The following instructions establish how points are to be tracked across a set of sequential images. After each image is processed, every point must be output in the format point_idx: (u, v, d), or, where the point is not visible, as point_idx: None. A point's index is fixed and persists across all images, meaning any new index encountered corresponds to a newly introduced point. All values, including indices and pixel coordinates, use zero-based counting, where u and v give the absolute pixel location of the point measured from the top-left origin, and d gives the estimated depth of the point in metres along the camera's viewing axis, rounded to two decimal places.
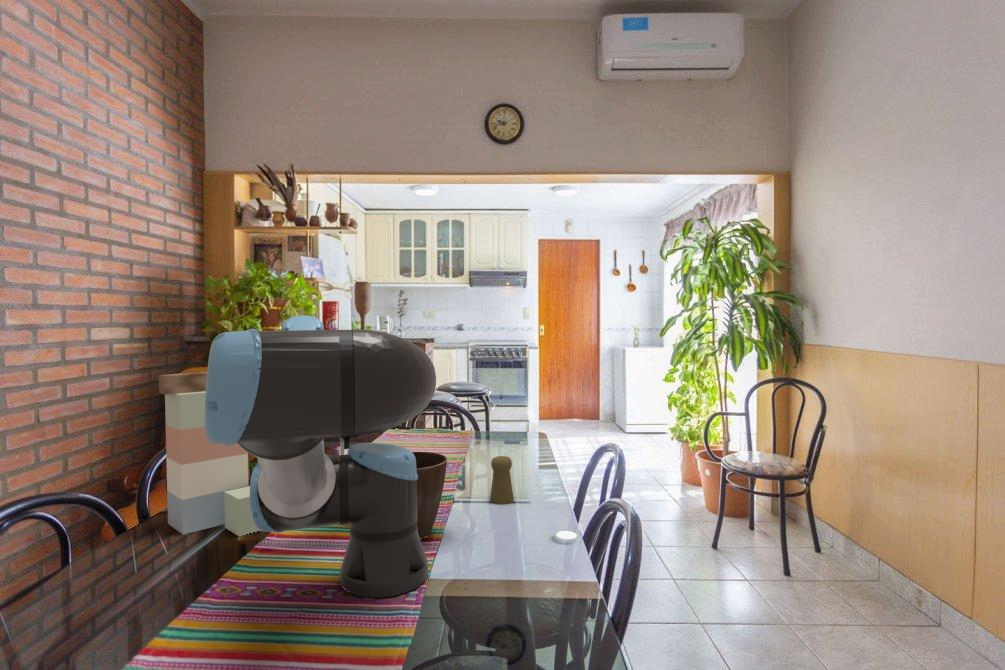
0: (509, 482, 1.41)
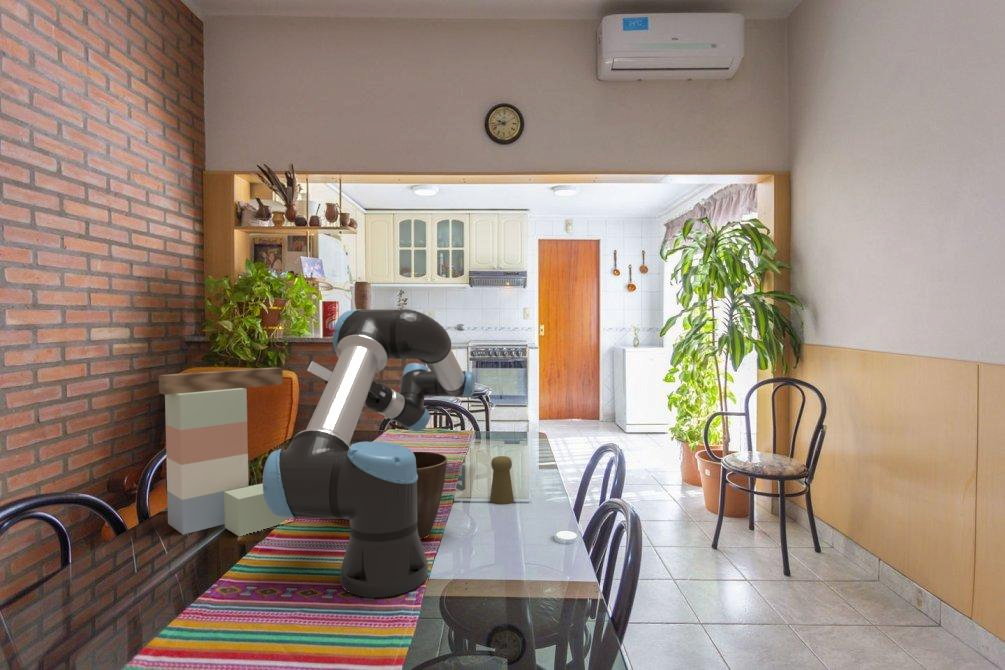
0: (509, 482, 1.41)
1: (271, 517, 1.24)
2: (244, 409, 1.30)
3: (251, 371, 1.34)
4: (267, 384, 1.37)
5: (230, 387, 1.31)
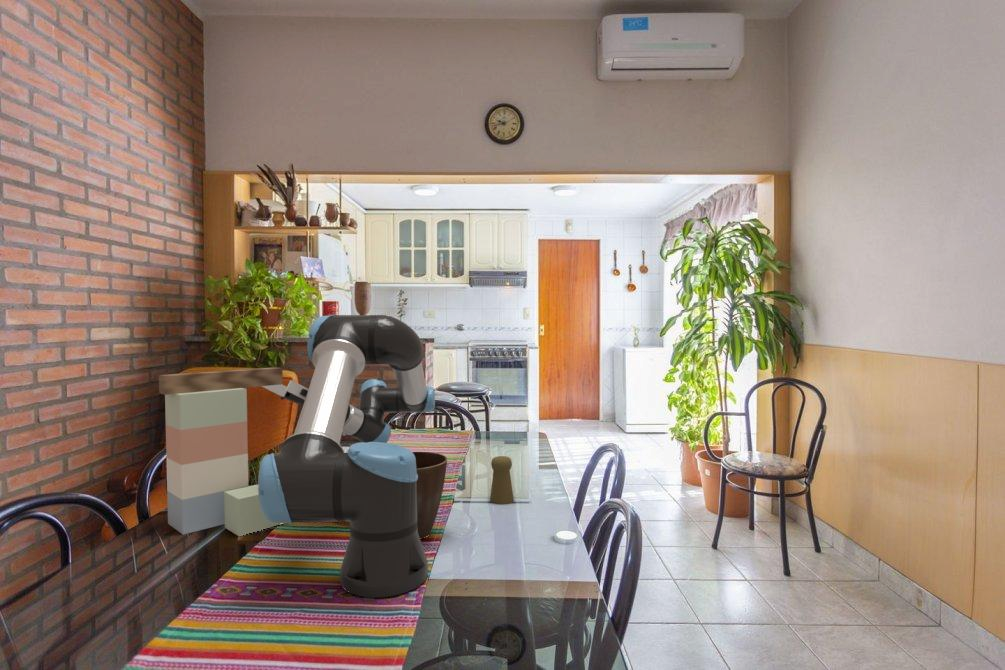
0: (509, 482, 1.41)
1: None
2: (244, 409, 1.30)
3: (251, 371, 1.34)
4: (267, 384, 1.37)
5: (230, 387, 1.31)
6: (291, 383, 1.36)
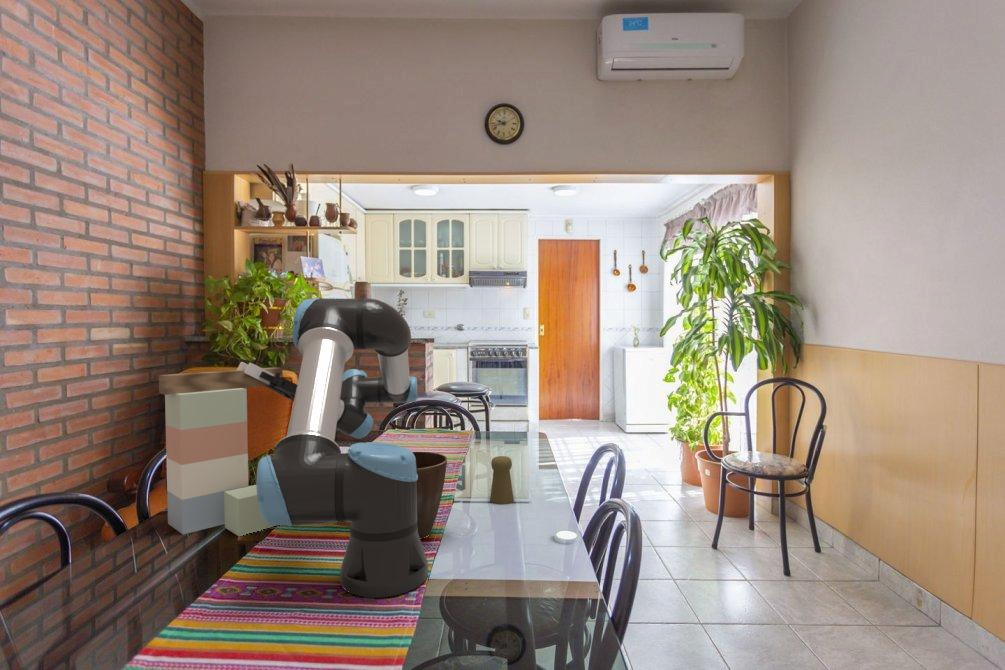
0: (509, 482, 1.41)
1: None
2: (244, 409, 1.30)
3: None
4: (267, 384, 1.37)
5: (230, 387, 1.31)
6: (250, 365, 1.33)
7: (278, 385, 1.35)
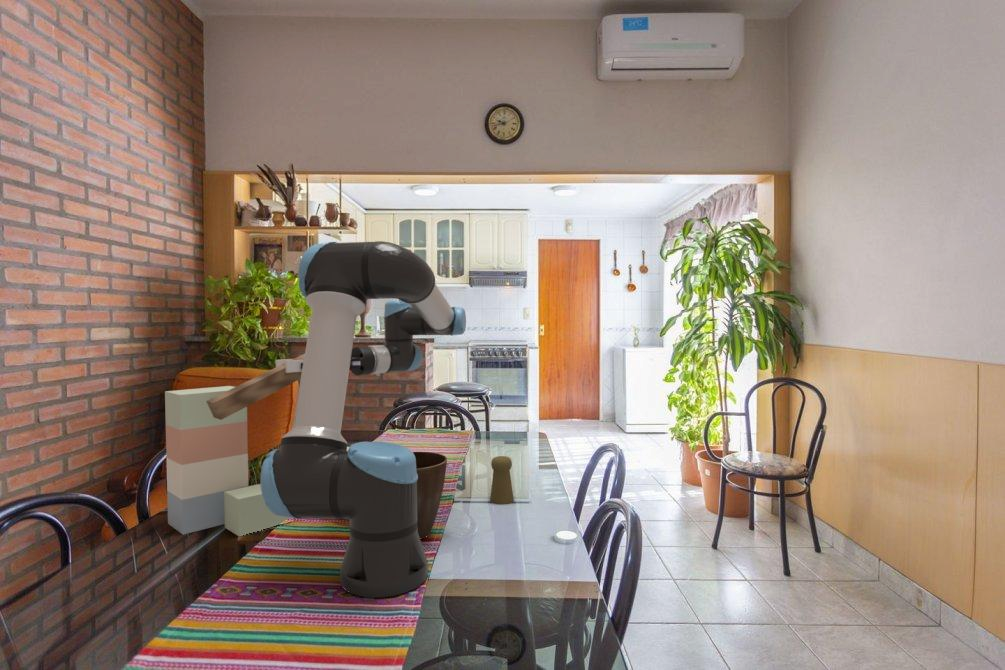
0: (509, 482, 1.41)
1: (271, 517, 1.24)
2: (244, 409, 1.30)
3: None
4: None
5: (278, 388, 1.27)
6: (287, 364, 1.28)
7: None
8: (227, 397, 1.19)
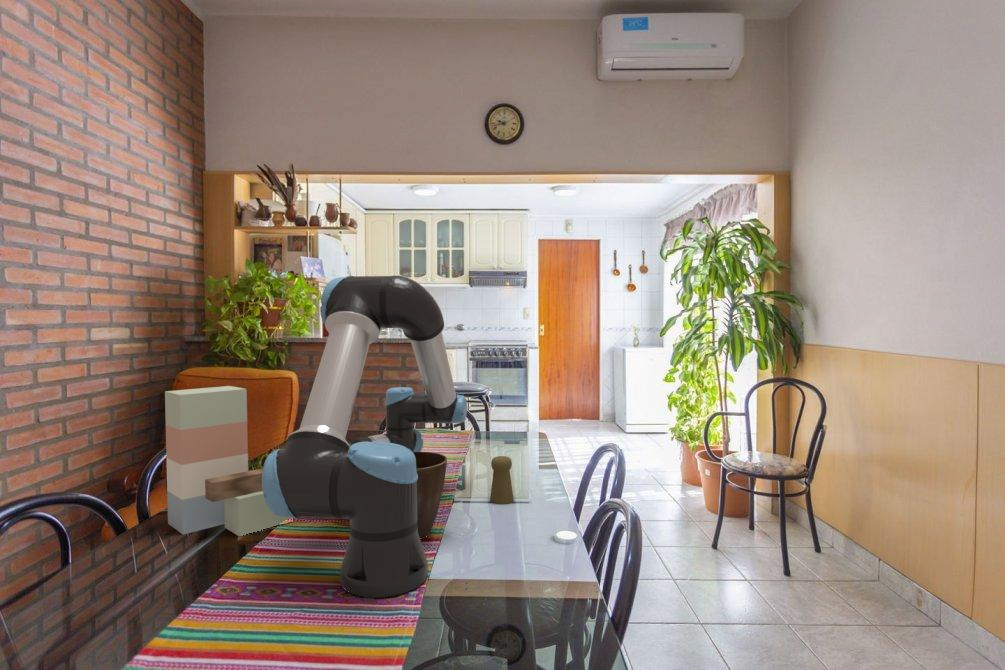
0: (509, 482, 1.41)
1: (271, 517, 1.24)
2: (244, 409, 1.30)
3: None
4: None
5: None
6: None
7: None
8: (226, 481, 1.19)
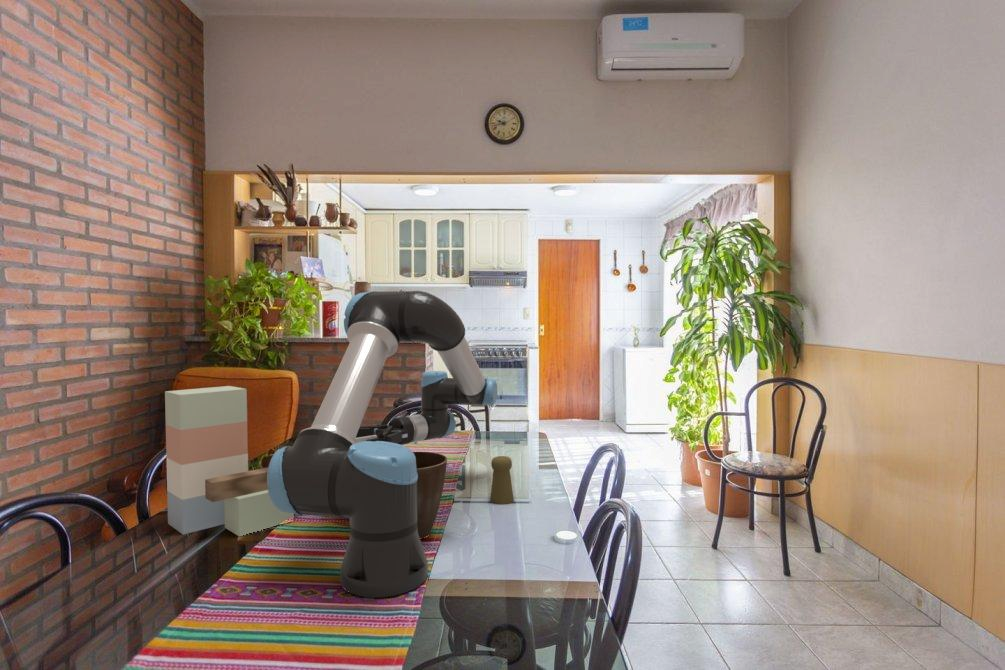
0: (509, 482, 1.41)
1: (271, 517, 1.24)
2: (244, 409, 1.30)
3: None
4: None
5: None
6: (355, 441, 1.36)
7: None
8: (226, 481, 1.19)
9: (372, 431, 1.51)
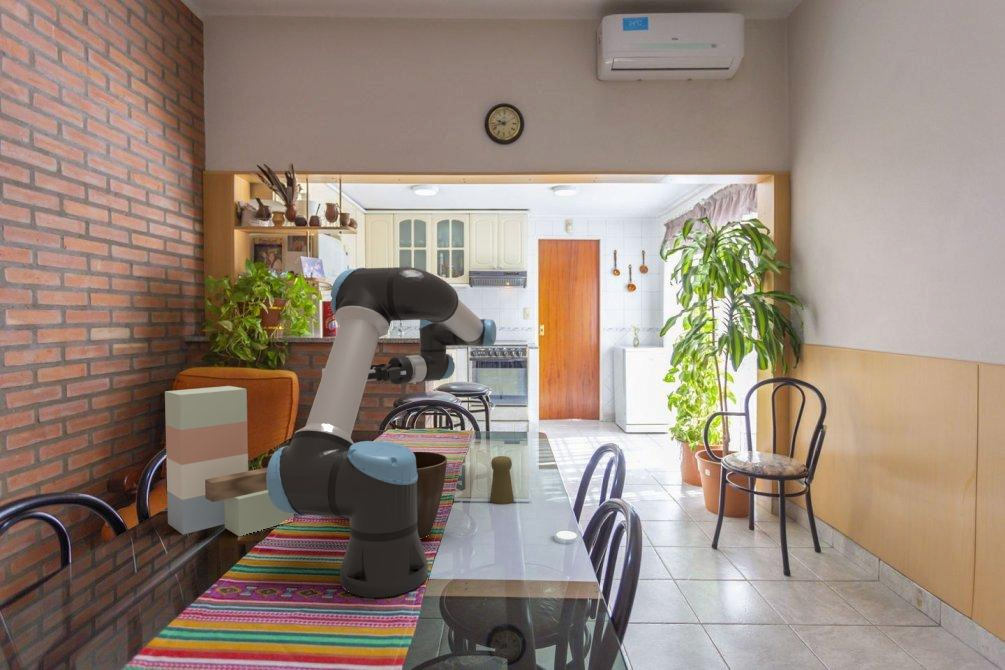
0: (509, 482, 1.41)
1: (271, 517, 1.24)
2: (244, 409, 1.30)
3: None
4: None
5: None
6: None
7: (386, 379, 1.39)
8: (226, 481, 1.19)
9: (370, 370, 1.51)
